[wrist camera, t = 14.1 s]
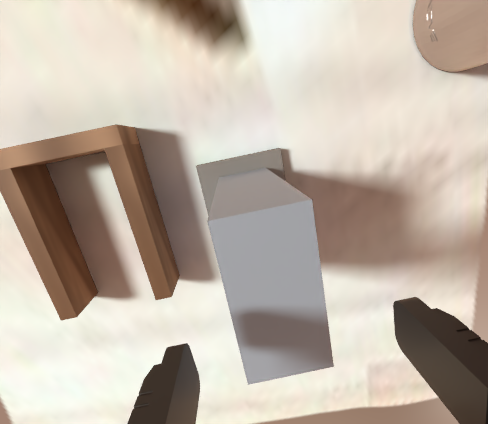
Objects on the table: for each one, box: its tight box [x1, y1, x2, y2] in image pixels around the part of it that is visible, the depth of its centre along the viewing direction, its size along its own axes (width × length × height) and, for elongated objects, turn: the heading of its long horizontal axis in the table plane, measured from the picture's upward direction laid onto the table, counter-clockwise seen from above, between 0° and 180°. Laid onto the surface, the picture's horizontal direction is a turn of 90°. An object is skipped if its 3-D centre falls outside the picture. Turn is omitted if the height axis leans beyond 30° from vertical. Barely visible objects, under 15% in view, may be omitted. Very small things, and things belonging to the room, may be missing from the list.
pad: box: [196, 148, 285, 215], centre depth 26 cm, size 8×12×1 cm, turn 11°
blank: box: [208, 168, 334, 385], centre depth 19 cm, size 4×9×14 cm, turn 11°
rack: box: [0, 125, 180, 320], centre depth 24 cm, size 10×16×4 cm
